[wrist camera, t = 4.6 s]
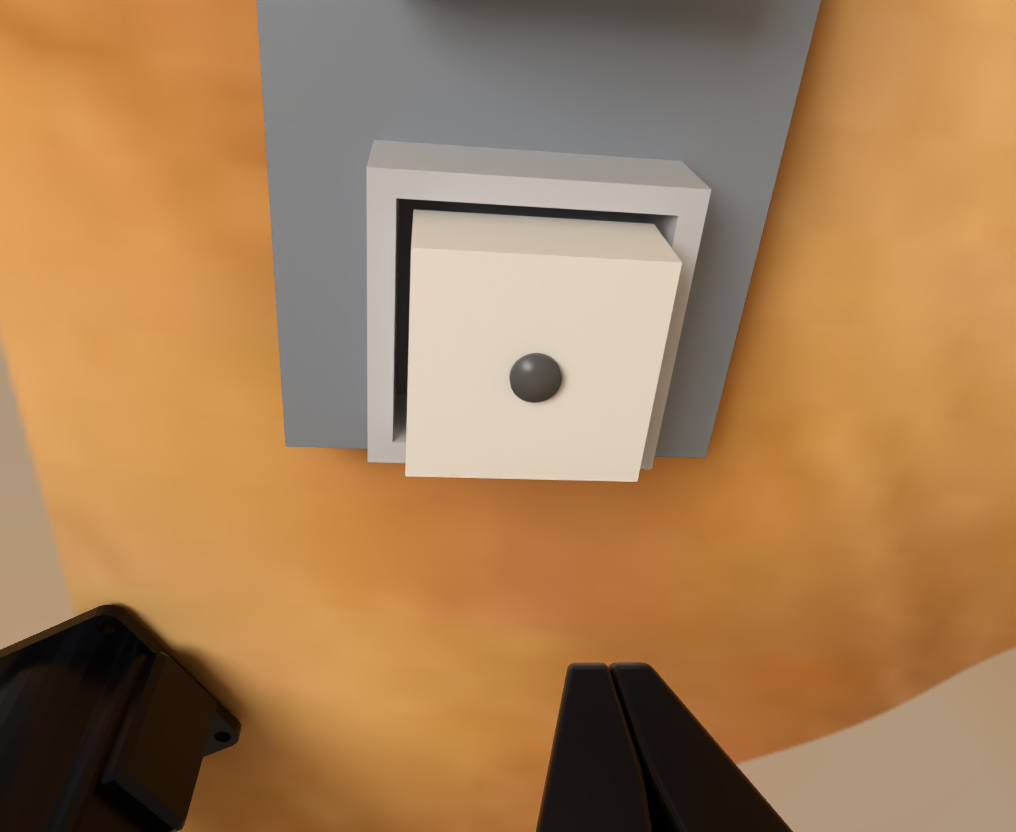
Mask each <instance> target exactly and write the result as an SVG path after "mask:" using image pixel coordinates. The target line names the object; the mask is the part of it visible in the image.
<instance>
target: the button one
mask: <svg viewBox="0 0 1016 832" xmlns="http://www.w3.org/2000/svg"><path fill="white" fill-rule="evenodd" d="M681 266H682V262H681V260H680V259H679V258H678V256H677V255H676V253H675V252H674V251H673V249H672V248H671V247H670V245H669V244H668V242H667V241H666V240H665V238H664V237H663V236H662V234H661V233H660V232H659V230H658V229H657V227H656V226H655V225H654V224H649V223H632V222H616V221H599V220H582V219H566V218H549V217H533V216H516V215H499V214H483V213H466V212H449V211H433V210H416V209H414V210H413V225H412V240H411V268H410V308H409V347H408V387H407V427H406V467H405V476H416V477H458V478H500V479H541V480H583V481H625V482H637V481H638V476H639V471H640V467H641V462H642V457H643V452H644V447H645V442H646V437H647V432H648V427H649V422H650V418H651V413H652V408H653V403H654V398H655V393H656V388H657V383H658V378H659V373H660V369H661V364H662V359H663V354H664V349H665V344H666V339H667V334H668V329H669V325H670V320H671V315H672V310H673V305H674V300H675V295H676V290H677V285H678V280H679V276H680V271H681Z"/></svg>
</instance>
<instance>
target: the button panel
mask: <svg viewBox="0 0 1016 832" xmlns="http://www.w3.org/2000/svg"><path fill="white" fill-rule="evenodd" d="M820 3H821V0H257V15H258V30H259V45H260V61H261V76H262V91H263V107H264V122H265V137H266V153H267V168H268V183H269V199H270V214H271V229H272V245H273V260H274V275H275V291H276V306H277V321H278V337H279V352H280V368H281V383H282V398H283V414H284V429H285V444H286V447H321V448H357V449H368V462H384V463H406V427H407V387H408V347H409V308H410V268H411V240H412V225H413V210H414V209H416V210H433V211H449V212H466V213H483V214H499V215H516V216H533V217H549V218H566V219H582V220H599V221H616V222H632V223H649V224H654V225H655V226H656V227H657V229H658V230H659V232H660V233H661V234H662V236H663V237H664V238H665V240H666V241H667V242H668V244H669V245H670V247H671V248H672V249H673V251H674V252H675V253H676V255H677V256H678V258H679V259H680V260H681V262H682V266H681V271H680V276H679V280H678V285H677V290H676V295H675V300H674V305H673V310H672V315H671V320H670V325H669V329H668V334H667V339H666V344H665V349H664V354H663V359H662V364H661V369H660V373H659V378H658V383H657V388H656V393H655V398H654V403H653V408H652V413H651V418H650V422H649V427H648V432H647V437H646V442H645V447H644V452H643V457H642V462H641V467H640V469H652V466H653V461H654V457H685V458H706V455H707V451H708V447H709V443H710V439H711V435H712V431H713V427H714V423H715V419H716V415H717V411H718V407H719V403H720V399H721V395H722V391H723V388H724V384H725V380H726V376H727V372H728V368H729V364H730V360H731V356H732V352H733V348H734V344H735V340H736V336H737V332H738V328H739V324H740V320H741V316H742V312H743V308H744V304H745V300H746V296H747V292H748V288H749V284H750V281H751V277H752V273H753V269H754V265H755V261H756V257H757V253H758V249H759V245H760V241H761V237H762V233H763V229H764V225H765V221H766V217H767V213H768V209H769V205H770V201H771V197H772V193H773V189H774V185H775V181H776V177H777V173H778V170H779V166H780V162H781V158H782V154H783V150H784V146H785V142H786V138H787V134H788V130H789V126H790V122H791V118H792V114H793V110H794V106H795V102H796V98H797V94H798V90H799V86H800V82H801V78H802V74H803V70H804V66H805V62H806V59H807V55H808V51H809V47H810V43H811V39H812V35H813V31H814V27H815V23H816V19H817V15H818V11H819V7H820Z"/></svg>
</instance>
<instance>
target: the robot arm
mask: <svg viewBox="0 0 1016 832" xmlns="http://www.w3.org/2000/svg"><path fill="white" fill-rule="evenodd" d="M105 621H107V622H111V623H112V624H109V623H106V622H105ZM240 732H241V724H240V722H239V721H238V720H237V719H236V718H235V717H234V716H233V715H232V714H231V713H230V712H229V711H228V710H227V709H226V708H225V707H224V706H223V705H222V704H221V703H220V702H219V701H218V700H217V699H215V698H214V697H213V696H212V695H211V694H210V693H209V692H208V691H207V690H206V689H205V688H204V687H203V686H202V685H201V684H200V683H199V682H198V681H197V680H196V679H195V678H194V677H193V676H192V675H191V674H190V673H189V672H188V671H187V670H186V669H185V668H184V667H182V666H181V665H180V664H179V663H178V662H177V661H176V660H175V659H174V658H173V657H172V656H171V655H170V654H169V653H168V652H167V651H166V650H165V649H164V648H163V647H162V646H161V645H160V644H159V643H158V642H157V641H156V640H155V639H154V638H153V637H152V636H151V635H149V634H148V633H147V632H146V631H145V630H144V629H143V628H142V627H141V626H140V625H139V624H138V623H137V622H136V621H135V620H134V619H133V618H132V617H131V616H130V615H129V614H128V613H127V612H126V611H124V610H123V609H122V608H120V607H117V606H114V605H103V606H99V607H97V608H94V609H92V610H90V611H88V612H85V613H83V614H81V615H79V616H76V617H74V618H72V619H69V620H67V621H65V622H63V623H60V624H58V625H56V626H54V627H51V628H49V629H47V630H44V631H42V632H40V633H38V634H36V635H33V636H31V637H29V638H26V639H24V640H22V641H19V642H17V643H15V644H13V645H10V646H8V647H6V648H4V649H1V650H0V832H176V831H179V830H181V829H182V828H183V826H184V824H185V821H186V817H187V813H188V810H189V806H190V802H191V799H192V795H193V791H194V788H195V784H196V781H197V777H198V773H199V770H200V766H201V762H202V759H203V757H205V756H207V755H210V754H212V753H215V752H217V751H220V750H222V749H225V748H227V747H230V746H232V745H234V744H236V743H237V741H238V740H239V736H240ZM536 832H793V831H792V830H791V829H790V828H789V826H788V825H787V824H786V823H785V822H784V821H783V819H782V818H781V817H780V816H779V815H778V814H777V812H776V811H775V810H774V809H773V808H772V807H771V805H770V804H769V803H768V802H767V801H766V799H765V798H764V797H763V796H762V795H761V794H760V792H759V791H758V790H757V789H756V788H755V787H754V785H753V784H752V783H751V782H750V781H749V780H748V778H747V777H746V776H745V775H744V774H743V773H742V771H741V770H740V769H739V768H738V767H737V766H736V764H735V763H734V762H733V761H732V760H731V759H730V757H729V756H728V755H727V754H726V753H725V751H724V750H723V749H722V748H721V747H720V746H719V744H718V743H717V742H716V741H715V740H714V739H713V737H712V736H711V735H710V734H709V733H708V732H707V730H706V729H705V728H704V727H703V726H702V725H701V723H700V722H699V721H698V720H697V719H696V718H695V716H694V715H693V714H692V713H691V712H690V711H689V709H688V708H687V707H686V706H685V705H684V704H683V702H682V701H681V700H680V699H679V698H678V696H677V695H676V694H675V693H674V692H673V691H672V689H671V688H670V687H669V686H668V685H667V684H666V682H665V681H664V680H663V679H662V678H661V677H660V675H659V674H658V673H657V672H656V671H655V670H654V669H653V668H652V667H651V666H650V665H648V664H646V663H612V664H611V665H609V667H608V666H607V665H606V664H604V663H572V664H570V665H569V666H568V669H567V673H566V678H565V683H564V688H563V694H562V699H561V704H560V709H559V714H558V719H557V725H556V730H555V735H554V740H553V745H552V750H551V756H550V761H549V766H548V771H547V776H546V781H545V787H544V792H543V797H542V802H541V807H540V812H539V818H538V823H537V828H536Z"/></svg>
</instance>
